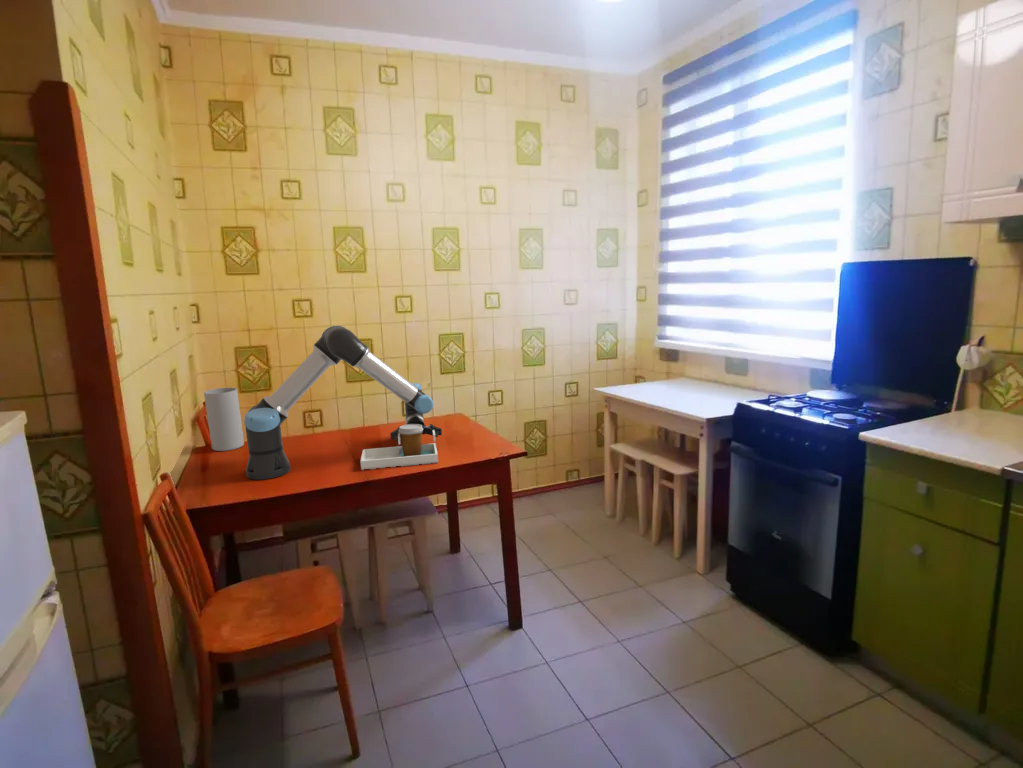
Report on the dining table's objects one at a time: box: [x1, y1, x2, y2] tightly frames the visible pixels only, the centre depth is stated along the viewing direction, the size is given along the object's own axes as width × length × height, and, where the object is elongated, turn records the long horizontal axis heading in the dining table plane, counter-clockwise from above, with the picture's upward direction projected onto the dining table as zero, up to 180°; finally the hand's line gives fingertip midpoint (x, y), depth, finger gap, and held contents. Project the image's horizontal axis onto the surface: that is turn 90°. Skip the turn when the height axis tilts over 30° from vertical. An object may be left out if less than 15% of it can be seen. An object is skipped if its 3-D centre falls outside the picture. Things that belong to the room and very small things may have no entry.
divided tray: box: [359, 442, 439, 471], centre depth 216 cm, size 28×15×4 cm, turn 101°
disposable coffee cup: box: [398, 424, 423, 457], centre depth 216 cm, size 10×10×12 cm
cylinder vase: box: [203, 387, 245, 452], centre depth 239 cm, size 12×12×25 cm
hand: (417, 439), depth 212 cm, fingers open, 13 cm apart
